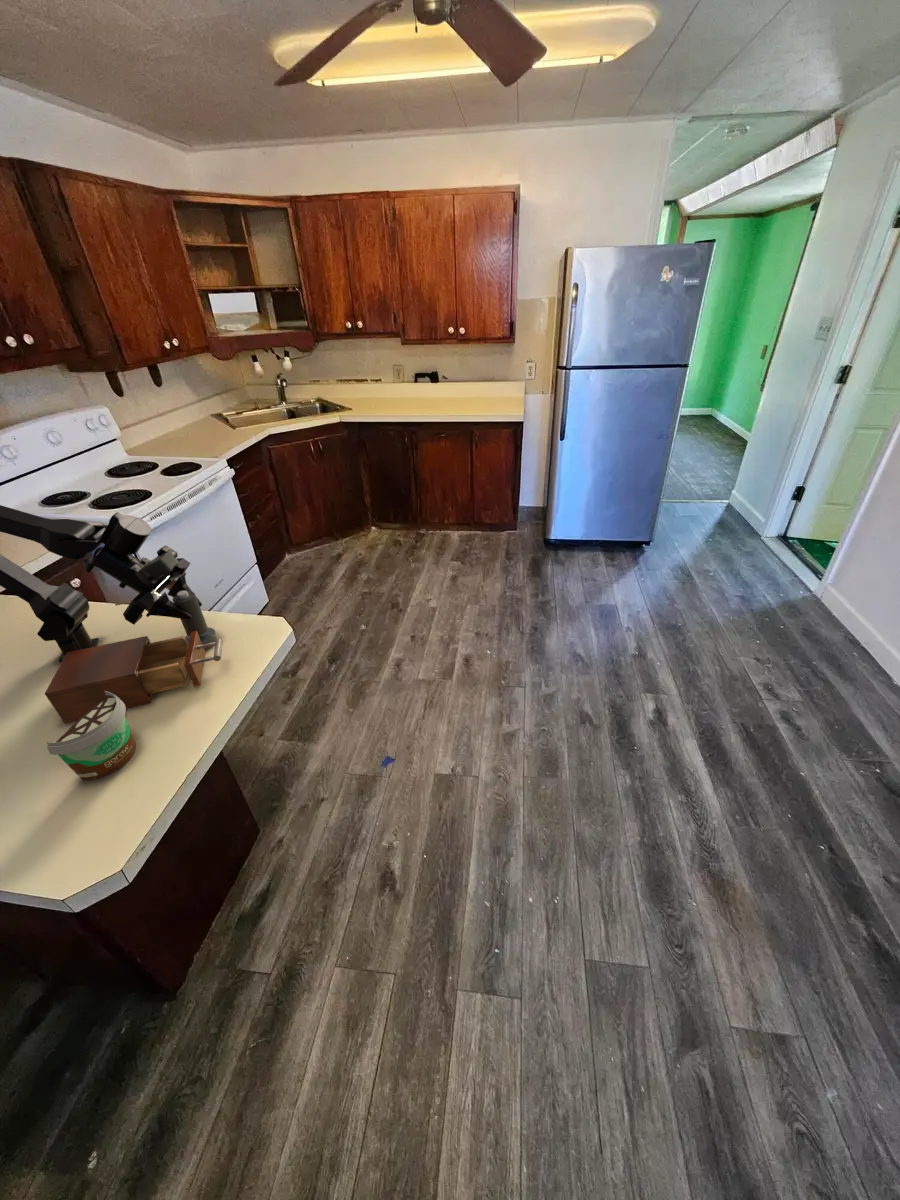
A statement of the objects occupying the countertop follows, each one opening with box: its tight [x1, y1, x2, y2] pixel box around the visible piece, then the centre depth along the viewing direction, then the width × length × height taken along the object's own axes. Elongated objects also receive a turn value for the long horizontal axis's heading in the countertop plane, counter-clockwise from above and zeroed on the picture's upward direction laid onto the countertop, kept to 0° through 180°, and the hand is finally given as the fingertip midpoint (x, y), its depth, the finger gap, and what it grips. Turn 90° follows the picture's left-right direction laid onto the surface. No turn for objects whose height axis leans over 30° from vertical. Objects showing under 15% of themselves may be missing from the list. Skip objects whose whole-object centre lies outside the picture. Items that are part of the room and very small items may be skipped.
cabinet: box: [44, 635, 154, 724], centre depth 95 cm, size 15×13×8 cm
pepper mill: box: [172, 590, 208, 636], centre depth 105 cm, size 4×4×10 cm
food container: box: [46, 691, 137, 781], centre depth 80 cm, size 12×6×10 cm, turn 168°
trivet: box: [184, 626, 219, 651], centre depth 109 cm, size 7×7×2 cm
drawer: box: [137, 631, 224, 694], centre depth 98 cm, size 18×11×6 cm, turn 109°
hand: (195, 611), depth 105 cm, fingers closed on pepper mill, 4 cm apart
